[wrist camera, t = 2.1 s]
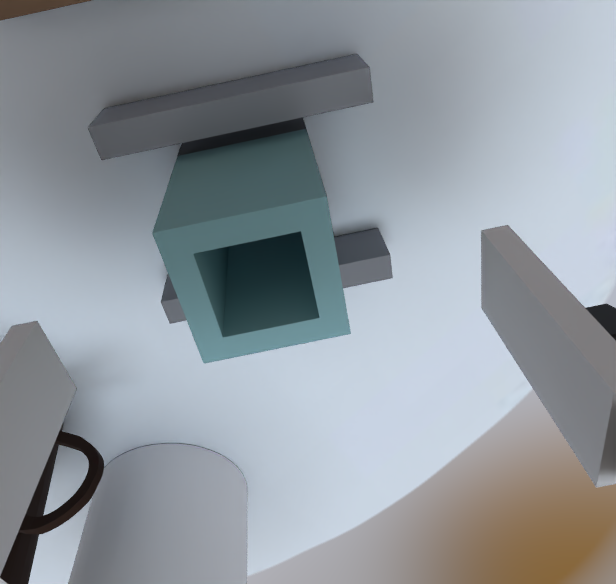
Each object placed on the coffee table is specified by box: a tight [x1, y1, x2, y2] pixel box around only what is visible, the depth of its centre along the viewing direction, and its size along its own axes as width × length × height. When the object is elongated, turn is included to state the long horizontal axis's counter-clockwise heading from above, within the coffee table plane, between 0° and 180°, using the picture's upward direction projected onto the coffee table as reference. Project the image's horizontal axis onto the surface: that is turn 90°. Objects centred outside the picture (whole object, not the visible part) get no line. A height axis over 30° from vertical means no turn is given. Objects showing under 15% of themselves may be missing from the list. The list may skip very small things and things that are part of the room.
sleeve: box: [152, 117, 351, 363], centre depth 19 cm, size 5×5×8 cm
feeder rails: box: [88, 54, 393, 324], centre depth 22 cm, size 9×10×2 cm
